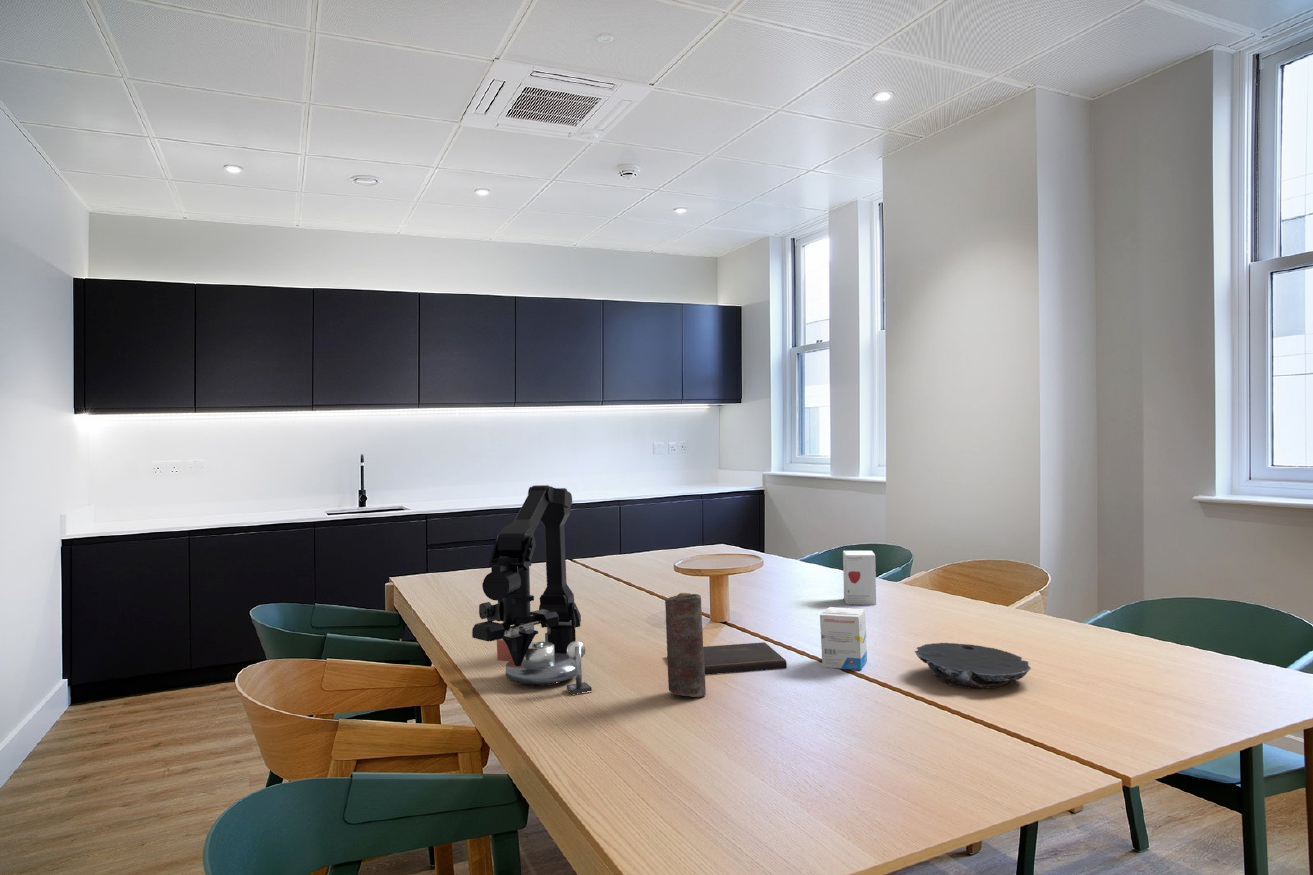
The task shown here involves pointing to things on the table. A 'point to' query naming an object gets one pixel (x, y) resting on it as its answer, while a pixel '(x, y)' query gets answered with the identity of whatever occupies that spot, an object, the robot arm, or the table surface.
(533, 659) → the cover
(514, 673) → the turntable
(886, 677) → the table surface
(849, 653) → the ink box
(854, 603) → the supplement box
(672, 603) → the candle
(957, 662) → the dark grey flat disc
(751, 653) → the hardcover book
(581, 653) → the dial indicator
